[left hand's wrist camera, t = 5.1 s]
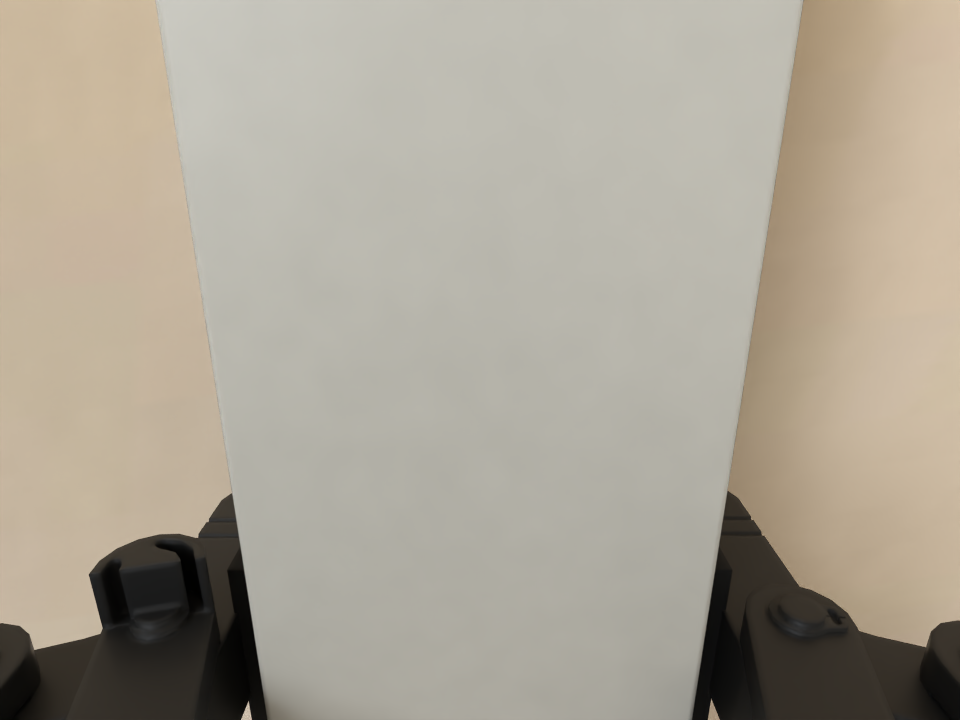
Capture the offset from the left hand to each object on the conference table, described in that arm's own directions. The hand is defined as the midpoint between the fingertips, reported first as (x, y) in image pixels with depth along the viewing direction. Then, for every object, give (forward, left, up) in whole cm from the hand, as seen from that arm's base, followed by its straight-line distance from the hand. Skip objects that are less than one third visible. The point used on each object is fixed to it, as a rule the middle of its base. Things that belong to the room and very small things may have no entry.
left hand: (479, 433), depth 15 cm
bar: (+23, +26, -1) cm, 35 cm away
